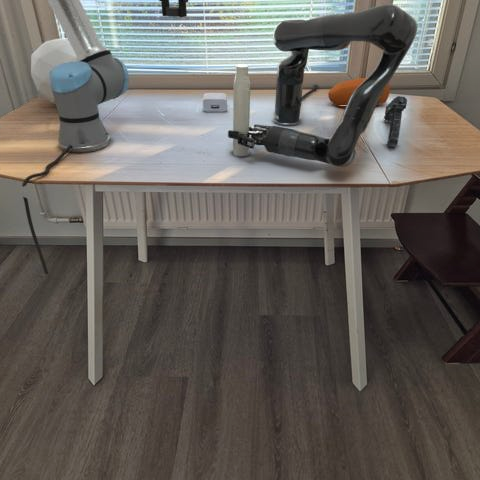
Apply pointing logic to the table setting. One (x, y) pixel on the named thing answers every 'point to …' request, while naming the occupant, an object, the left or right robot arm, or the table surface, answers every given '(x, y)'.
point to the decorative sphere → (49, 63)
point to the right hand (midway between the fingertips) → (233, 130)
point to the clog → (351, 92)
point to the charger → (215, 102)
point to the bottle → (241, 107)
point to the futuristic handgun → (395, 118)
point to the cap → (172, 11)
